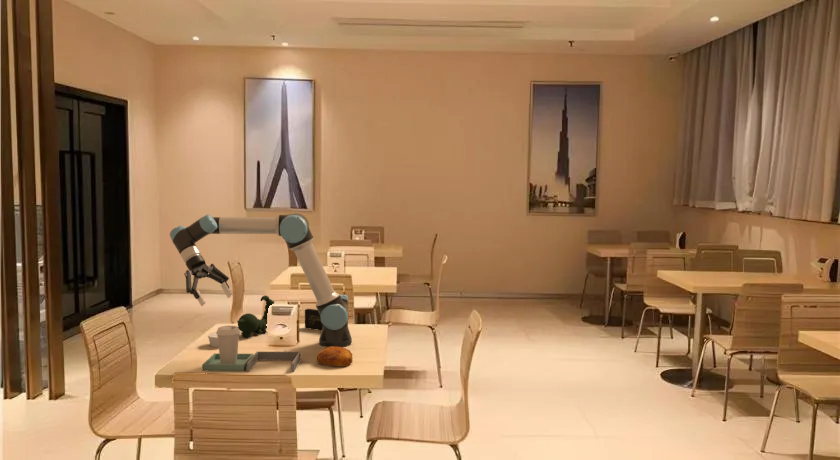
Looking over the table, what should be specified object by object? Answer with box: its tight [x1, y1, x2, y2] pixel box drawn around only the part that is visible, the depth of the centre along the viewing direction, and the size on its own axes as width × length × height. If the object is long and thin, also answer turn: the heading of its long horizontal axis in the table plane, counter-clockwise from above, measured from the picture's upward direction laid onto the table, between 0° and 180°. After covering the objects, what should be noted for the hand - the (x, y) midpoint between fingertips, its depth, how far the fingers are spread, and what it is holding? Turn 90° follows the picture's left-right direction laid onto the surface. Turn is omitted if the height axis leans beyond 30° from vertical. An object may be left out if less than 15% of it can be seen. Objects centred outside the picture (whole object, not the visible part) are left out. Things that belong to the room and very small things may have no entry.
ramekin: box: [207, 331, 219, 349], centre depth 312 cm, size 11×11×5 cm
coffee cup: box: [215, 325, 241, 364], centre depth 280 cm, size 10×10×15 cm
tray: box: [201, 353, 255, 372], centre depth 280 cm, size 17×17×3 cm
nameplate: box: [304, 308, 323, 331], centre depth 343 cm, size 21×2×10 cm, turn 61°
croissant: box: [315, 346, 353, 368], centre depth 285 cm, size 14×16×8 cm
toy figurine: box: [236, 295, 275, 339], centre depth 332 cm, size 10×19×26 cm
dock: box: [246, 351, 302, 373], centre depth 280 cm, size 19×18×4 cm
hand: (217, 300), depth 286 cm, fingers open, 13 cm apart
